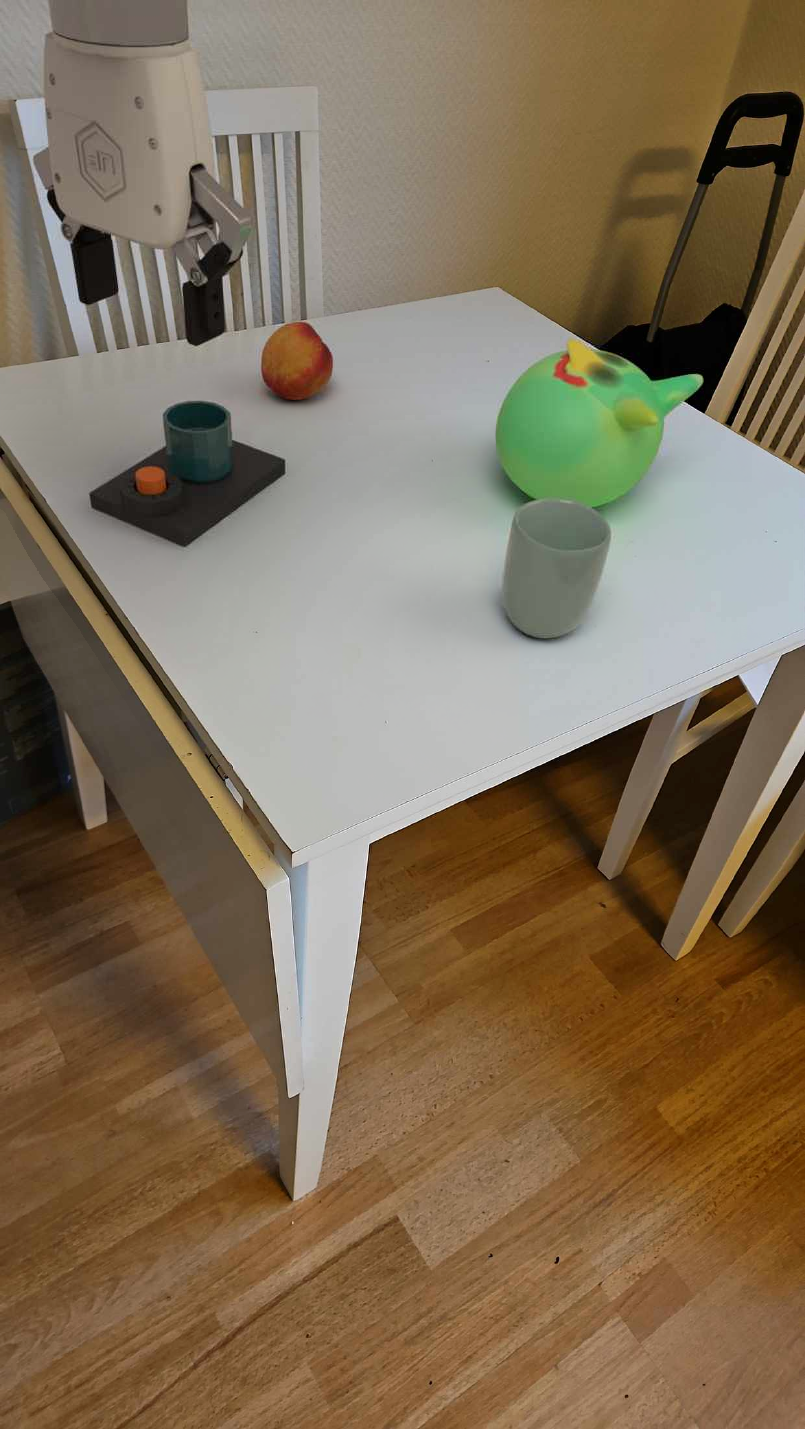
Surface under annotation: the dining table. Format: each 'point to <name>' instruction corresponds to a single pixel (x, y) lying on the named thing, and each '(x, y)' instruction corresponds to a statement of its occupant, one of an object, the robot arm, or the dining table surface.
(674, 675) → the dining table surface
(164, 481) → the button
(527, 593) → the cup
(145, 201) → the robot arm
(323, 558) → the dining table surface
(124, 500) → the scale
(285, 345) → the fruit
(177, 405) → the teal hollow faceted cylinder
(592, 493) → the toy bird
